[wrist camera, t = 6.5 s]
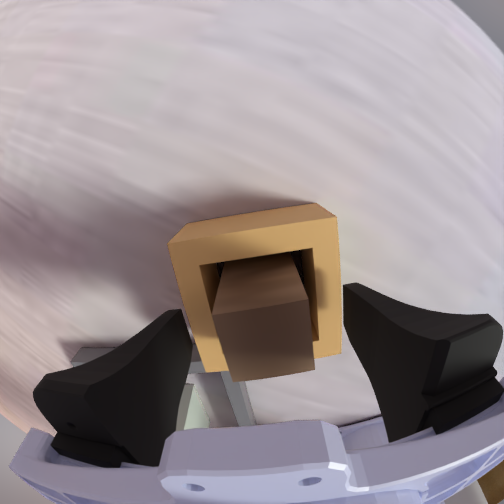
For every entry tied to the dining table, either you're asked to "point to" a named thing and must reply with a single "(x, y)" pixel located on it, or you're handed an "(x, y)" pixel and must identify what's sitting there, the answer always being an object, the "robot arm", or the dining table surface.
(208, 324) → the socket
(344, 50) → the dining table surface
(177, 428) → the block
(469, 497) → the cylinder vase
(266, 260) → the rod
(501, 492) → the plant pot
